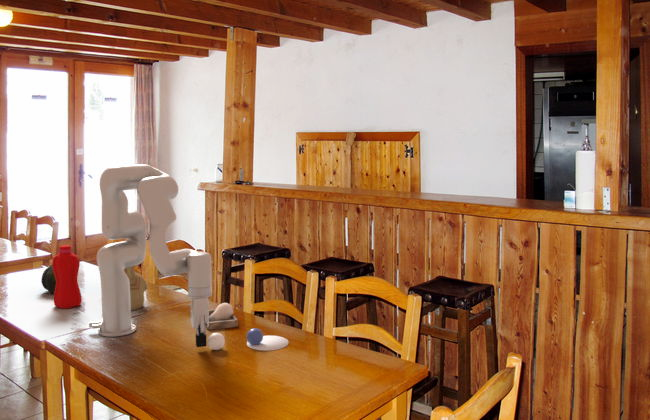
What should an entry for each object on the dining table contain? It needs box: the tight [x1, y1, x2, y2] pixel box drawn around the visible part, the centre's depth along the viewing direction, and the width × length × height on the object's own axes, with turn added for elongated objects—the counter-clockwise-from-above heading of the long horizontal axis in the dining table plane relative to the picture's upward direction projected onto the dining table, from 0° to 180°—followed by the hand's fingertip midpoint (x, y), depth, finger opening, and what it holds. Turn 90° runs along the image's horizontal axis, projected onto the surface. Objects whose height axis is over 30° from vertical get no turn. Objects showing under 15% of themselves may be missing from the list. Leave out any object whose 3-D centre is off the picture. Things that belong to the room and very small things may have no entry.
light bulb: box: [209, 302, 234, 322], centre depth 220 cm, size 7×7×11 cm
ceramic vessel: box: [124, 266, 148, 311], centre depth 237 cm, size 17×20×25 cm
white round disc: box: [246, 335, 290, 352], centre depth 198 cm, size 14×14×1 cm
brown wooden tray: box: [206, 308, 239, 331], centre depth 220 cm, size 11×16×2 cm
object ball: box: [246, 327, 264, 345], centre depth 196 cm, size 6×6×6 cm
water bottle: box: [51, 244, 82, 310], centre depth 239 cm, size 9×11×25 cm
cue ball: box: [207, 332, 226, 351], centre depth 192 cm, size 6×6×6 cm
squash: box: [41, 264, 56, 295], centre depth 262 cm, size 14×15×15 cm
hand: (201, 345), depth 191 cm, fingers closed
